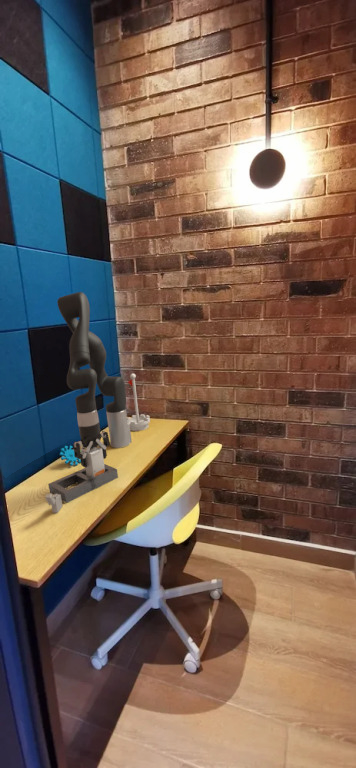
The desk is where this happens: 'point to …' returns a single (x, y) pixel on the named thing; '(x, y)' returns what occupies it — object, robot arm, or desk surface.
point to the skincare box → (95, 462)
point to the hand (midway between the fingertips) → (94, 462)
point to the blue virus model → (69, 455)
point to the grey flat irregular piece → (54, 502)
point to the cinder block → (81, 483)
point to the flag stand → (137, 421)
